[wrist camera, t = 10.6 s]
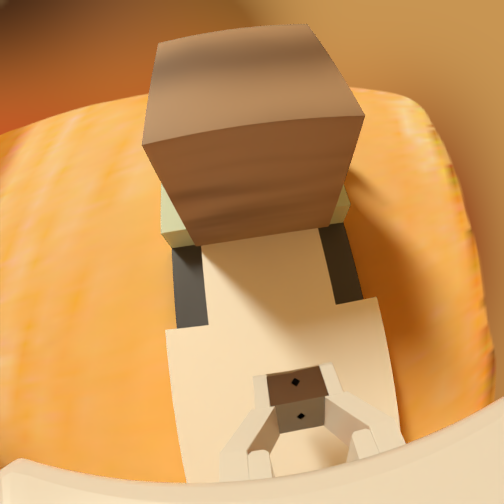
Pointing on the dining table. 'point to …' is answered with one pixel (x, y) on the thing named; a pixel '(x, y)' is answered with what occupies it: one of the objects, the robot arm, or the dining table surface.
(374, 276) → the dining table surface
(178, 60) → the walnut block
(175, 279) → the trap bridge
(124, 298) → the dining table surface
